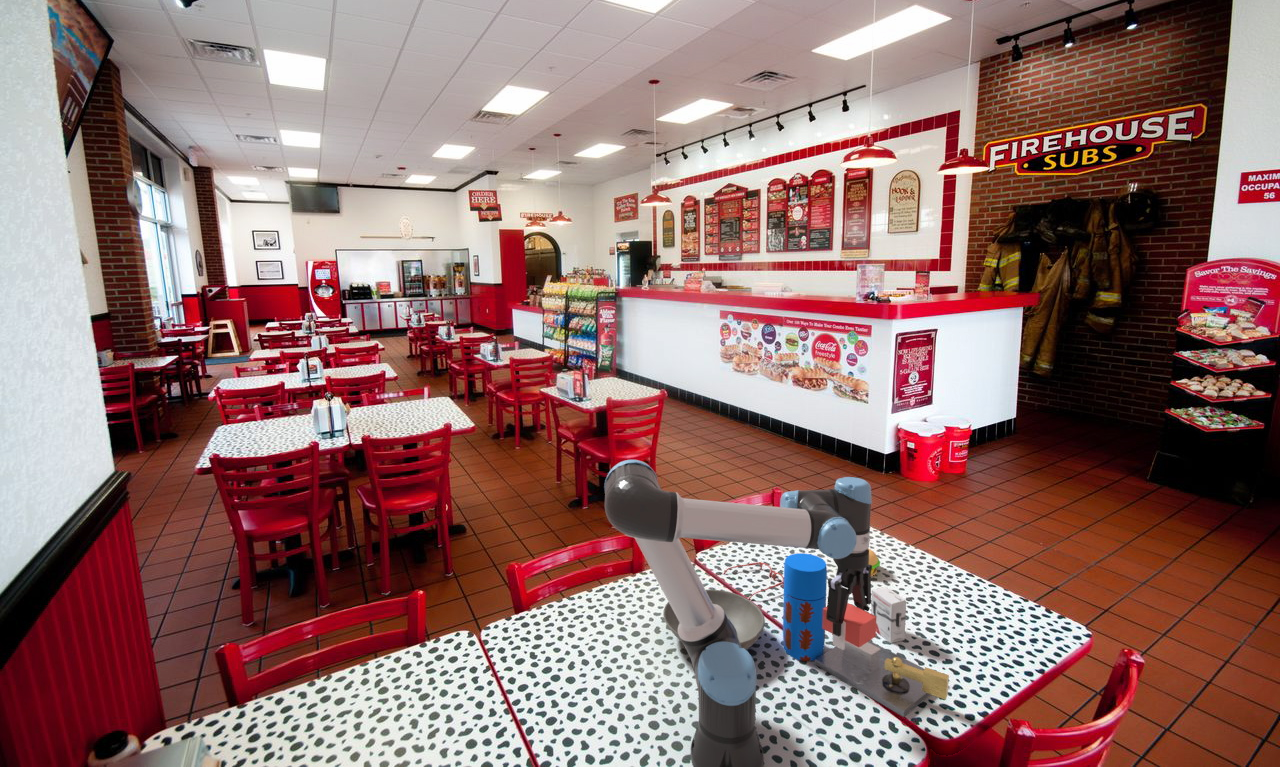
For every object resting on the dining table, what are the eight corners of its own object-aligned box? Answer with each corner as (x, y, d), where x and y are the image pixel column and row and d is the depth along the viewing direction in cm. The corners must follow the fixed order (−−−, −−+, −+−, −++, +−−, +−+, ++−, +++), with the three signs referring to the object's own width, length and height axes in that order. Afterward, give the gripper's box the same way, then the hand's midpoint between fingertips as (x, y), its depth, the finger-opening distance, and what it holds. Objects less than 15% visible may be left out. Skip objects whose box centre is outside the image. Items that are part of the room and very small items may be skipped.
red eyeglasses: (790, 595, 187) (790, 580, 186) (747, 606, 181) (747, 591, 180) (759, 571, 202) (759, 558, 202) (718, 581, 197) (718, 567, 196)
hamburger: (882, 569, 202) (883, 545, 200) (875, 584, 192) (877, 559, 190) (846, 561, 208) (847, 538, 206) (838, 575, 198) (839, 551, 196)
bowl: (684, 683, 146) (683, 653, 144) (651, 622, 172) (651, 596, 171) (783, 663, 153) (783, 633, 152) (737, 607, 180) (737, 582, 178)
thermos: (826, 663, 152) (829, 573, 148) (783, 659, 154) (785, 570, 150) (822, 639, 163) (824, 554, 159) (782, 635, 165) (783, 551, 161)
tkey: (883, 679, 142) (884, 656, 141) (886, 674, 144) (887, 651, 143) (945, 702, 134) (947, 678, 133) (947, 696, 136) (949, 672, 135)
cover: (859, 647, 129) (859, 626, 129) (822, 628, 137) (822, 608, 136) (875, 636, 133) (876, 616, 132) (839, 618, 141) (839, 599, 140)
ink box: (869, 627, 168) (871, 588, 166) (884, 623, 169) (885, 585, 167) (890, 644, 160) (892, 603, 158) (905, 640, 161) (907, 600, 159)
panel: (903, 717, 133) (905, 691, 132) (814, 664, 152) (815, 641, 151) (943, 683, 143) (944, 659, 142) (855, 638, 162) (856, 617, 161)
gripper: (839, 565, 123) (836, 665, 127) (890, 540, 135) (886, 632, 138) (810, 553, 129) (808, 649, 133) (861, 529, 140) (858, 618, 144)
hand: (848, 640), depth 136 cm, fingers closed on cover, 6 cm apart
